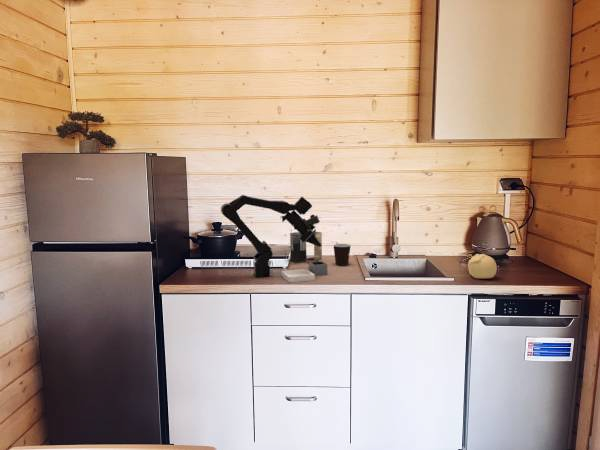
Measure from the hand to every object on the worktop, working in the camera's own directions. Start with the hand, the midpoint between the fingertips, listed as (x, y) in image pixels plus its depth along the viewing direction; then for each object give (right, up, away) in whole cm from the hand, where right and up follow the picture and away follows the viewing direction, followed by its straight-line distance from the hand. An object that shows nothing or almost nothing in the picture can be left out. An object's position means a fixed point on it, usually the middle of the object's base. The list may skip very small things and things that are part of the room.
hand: (320, 245), depth 208 cm
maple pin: (-1, -7, +1) cm, 7 cm away
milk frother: (-7, -10, +28) cm, 30 cm away
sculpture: (+72, -14, -8) cm, 73 cm away
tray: (-11, -15, -6) cm, 19 cm away
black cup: (+13, -11, +21) cm, 26 cm away
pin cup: (-1, -13, +2) cm, 14 cm away
